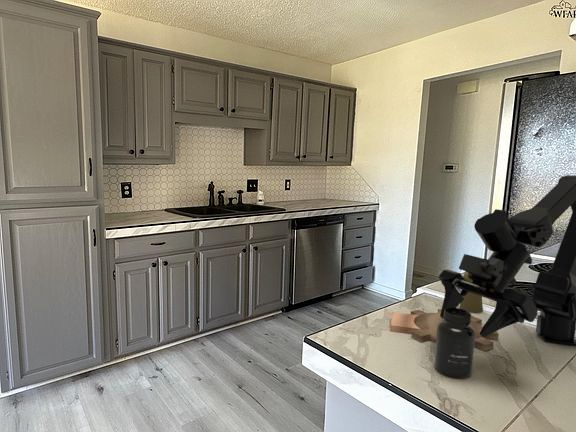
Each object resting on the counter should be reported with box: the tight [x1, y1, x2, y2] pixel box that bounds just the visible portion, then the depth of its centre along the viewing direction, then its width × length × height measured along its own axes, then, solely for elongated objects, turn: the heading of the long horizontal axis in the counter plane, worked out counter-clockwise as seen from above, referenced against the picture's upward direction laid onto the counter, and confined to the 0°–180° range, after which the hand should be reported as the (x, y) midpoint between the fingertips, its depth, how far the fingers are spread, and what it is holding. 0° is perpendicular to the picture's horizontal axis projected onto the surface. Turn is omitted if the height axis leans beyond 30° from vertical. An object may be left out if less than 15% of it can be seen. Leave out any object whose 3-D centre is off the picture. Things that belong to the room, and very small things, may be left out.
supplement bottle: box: [434, 307, 475, 379], centre depth 72 cm, size 7×7×12 cm
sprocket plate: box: [389, 308, 500, 352], centre depth 91 cm, size 24×21×6 cm
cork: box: [459, 271, 484, 314], centre depth 105 cm, size 6×6×11 cm
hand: (460, 326), depth 73 cm, fingers open, 9 cm apart
